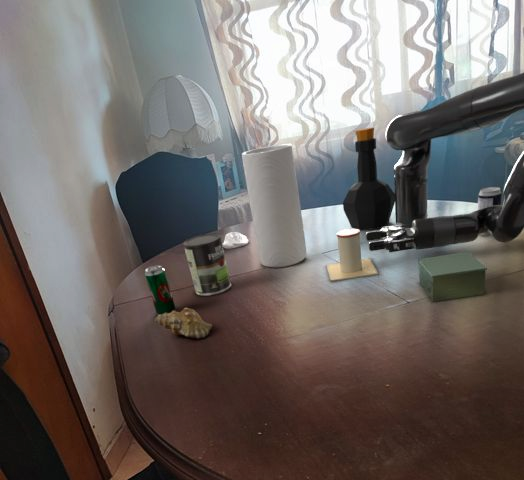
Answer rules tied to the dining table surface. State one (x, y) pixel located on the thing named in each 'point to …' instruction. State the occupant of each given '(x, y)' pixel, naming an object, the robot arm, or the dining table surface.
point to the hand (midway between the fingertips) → (367, 241)
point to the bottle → (368, 188)
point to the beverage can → (489, 199)
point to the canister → (349, 250)
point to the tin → (452, 276)
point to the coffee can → (207, 264)
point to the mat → (366, 270)
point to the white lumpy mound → (234, 240)
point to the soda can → (159, 289)
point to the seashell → (185, 323)
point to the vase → (275, 205)
